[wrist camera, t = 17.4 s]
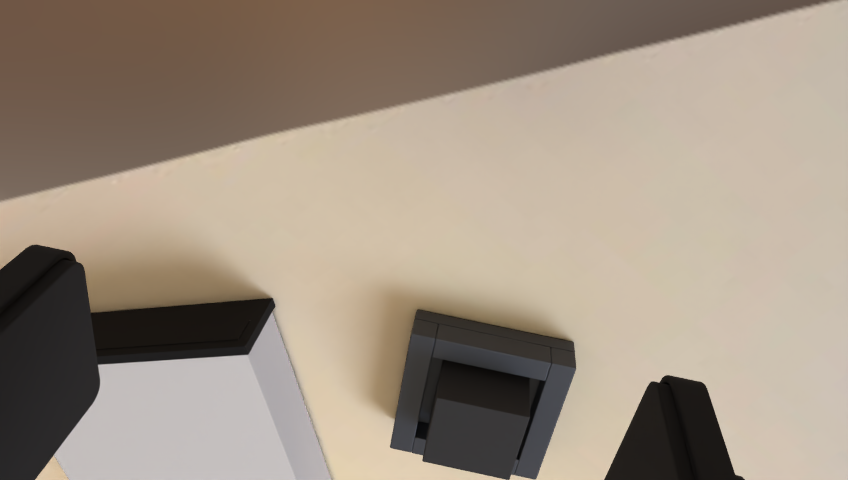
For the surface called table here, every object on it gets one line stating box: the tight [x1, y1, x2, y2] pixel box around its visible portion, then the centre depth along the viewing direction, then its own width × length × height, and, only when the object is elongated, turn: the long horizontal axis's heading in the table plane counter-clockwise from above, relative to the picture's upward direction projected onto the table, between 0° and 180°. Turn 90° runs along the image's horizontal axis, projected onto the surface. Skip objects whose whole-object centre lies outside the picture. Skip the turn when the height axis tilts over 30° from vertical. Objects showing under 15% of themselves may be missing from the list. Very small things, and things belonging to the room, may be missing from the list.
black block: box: [423, 360, 530, 480], centre depth 42 cm, size 6×6×4 cm
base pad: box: [390, 310, 576, 479], centre depth 43 cm, size 10×10×2 cm
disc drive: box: [54, 298, 332, 480], centre depth 48 cm, size 18×22×5 cm
